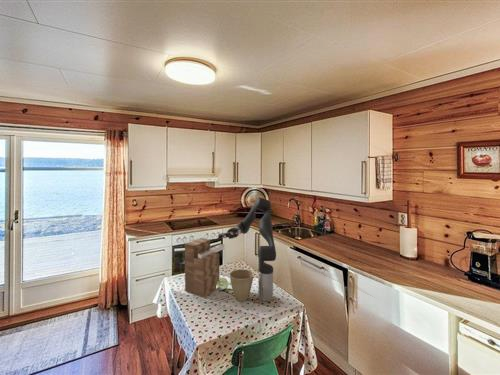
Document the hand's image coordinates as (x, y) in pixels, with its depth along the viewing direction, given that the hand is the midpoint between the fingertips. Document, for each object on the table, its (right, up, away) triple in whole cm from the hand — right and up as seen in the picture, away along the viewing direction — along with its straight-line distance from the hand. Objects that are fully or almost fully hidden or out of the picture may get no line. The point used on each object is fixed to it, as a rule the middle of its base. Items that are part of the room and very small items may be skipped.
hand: (223, 237), depth 174 cm
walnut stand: (-14, -33, -8) cm, 37 cm away
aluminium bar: (-7, -9, -7) cm, 14 cm away
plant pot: (+13, -35, -19) cm, 41 cm away
